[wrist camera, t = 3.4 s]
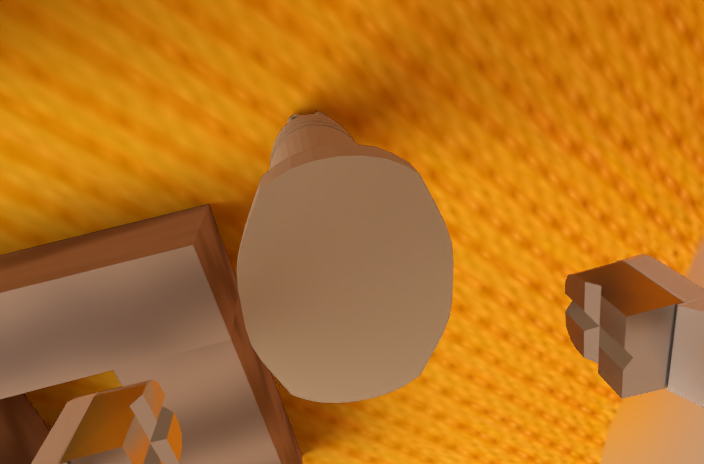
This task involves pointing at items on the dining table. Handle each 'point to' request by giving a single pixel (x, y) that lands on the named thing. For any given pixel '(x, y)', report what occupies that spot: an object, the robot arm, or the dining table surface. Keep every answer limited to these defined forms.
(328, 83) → the dining table surface
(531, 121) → the dining table surface
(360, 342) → the handle
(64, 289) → the socket block
